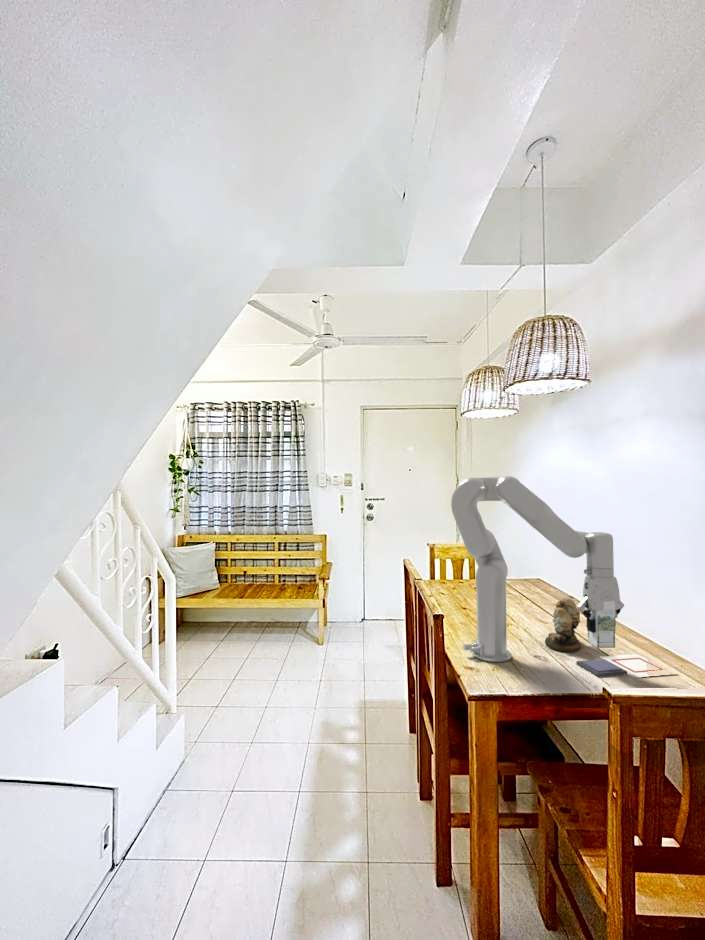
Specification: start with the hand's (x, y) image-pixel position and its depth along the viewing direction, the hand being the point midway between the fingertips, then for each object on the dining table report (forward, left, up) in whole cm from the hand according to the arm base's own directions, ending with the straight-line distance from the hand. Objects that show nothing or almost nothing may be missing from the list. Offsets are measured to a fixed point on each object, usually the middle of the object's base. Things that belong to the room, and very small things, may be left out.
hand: (601, 630), depth 153 cm
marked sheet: (+13, +1, -12) cm, 18 cm away
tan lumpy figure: (+2, +23, -12) cm, 26 cm away
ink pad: (0, 0, -12) cm, 12 cm away
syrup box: (0, 0, -5) cm, 5 cm away
